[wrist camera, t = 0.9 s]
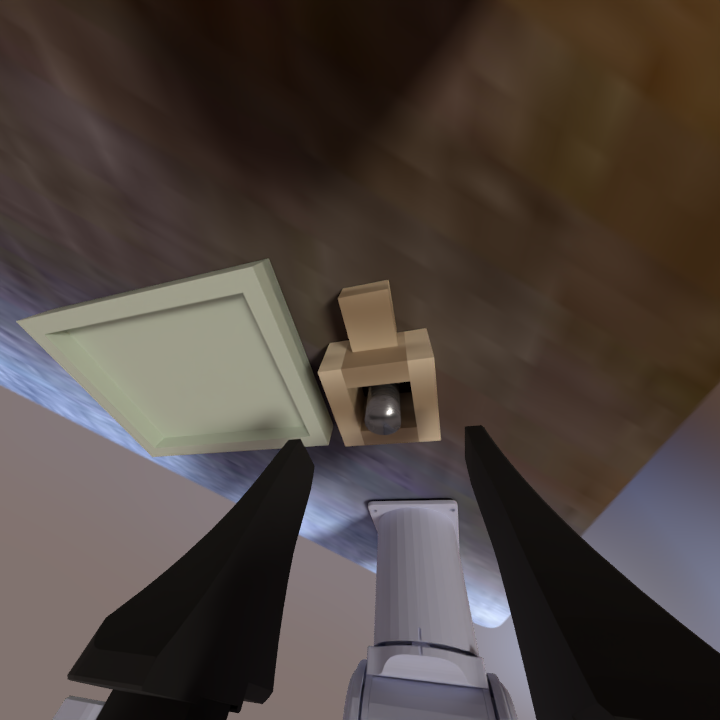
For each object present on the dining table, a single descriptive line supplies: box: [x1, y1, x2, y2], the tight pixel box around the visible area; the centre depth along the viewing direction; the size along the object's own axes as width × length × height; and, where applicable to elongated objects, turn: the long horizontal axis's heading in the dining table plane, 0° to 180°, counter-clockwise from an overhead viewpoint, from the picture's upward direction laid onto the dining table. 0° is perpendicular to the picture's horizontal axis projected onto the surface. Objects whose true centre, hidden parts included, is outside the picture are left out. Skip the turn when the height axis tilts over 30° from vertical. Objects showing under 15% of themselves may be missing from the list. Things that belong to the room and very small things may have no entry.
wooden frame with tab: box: [318, 280, 441, 446], centre depth 14 cm, size 9×6×3 cm, turn 13°
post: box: [365, 383, 401, 435], centre depth 14 cm, size 2×2×4 cm
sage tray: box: [16, 258, 334, 457], centre depth 17 cm, size 12×15×2 cm
